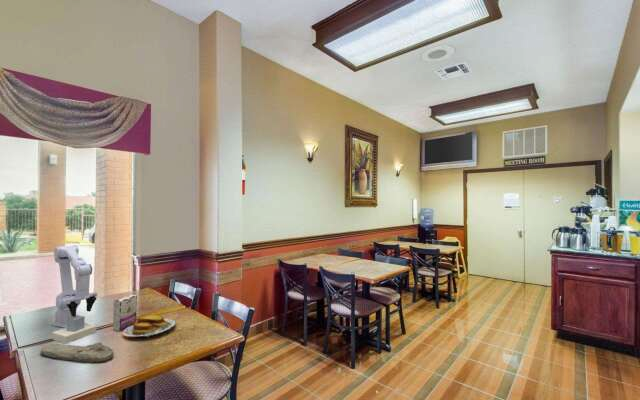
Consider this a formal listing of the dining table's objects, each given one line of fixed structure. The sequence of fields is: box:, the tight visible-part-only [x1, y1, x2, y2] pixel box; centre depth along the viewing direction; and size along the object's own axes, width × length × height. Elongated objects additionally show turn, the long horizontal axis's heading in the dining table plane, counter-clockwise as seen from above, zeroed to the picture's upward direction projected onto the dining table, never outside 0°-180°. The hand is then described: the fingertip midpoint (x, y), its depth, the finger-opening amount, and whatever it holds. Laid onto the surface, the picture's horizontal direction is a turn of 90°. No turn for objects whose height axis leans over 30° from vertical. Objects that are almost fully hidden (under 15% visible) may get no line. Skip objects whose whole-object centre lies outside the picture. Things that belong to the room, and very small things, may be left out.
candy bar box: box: [112, 294, 138, 332], centre depth 166 cm, size 11×5×16 cm, turn 168°
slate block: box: [66, 314, 86, 332], centre depth 153 cm, size 5×5×6 cm
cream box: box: [51, 322, 97, 345], centre depth 153 cm, size 11×14×4 cm
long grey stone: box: [39, 342, 115, 364], centre depth 134 cm, size 35×5×10 cm
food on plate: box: [121, 314, 176, 340], centre depth 162 cm, size 25×25×7 cm
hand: (81, 313), depth 158 cm, fingers open, 7 cm apart
